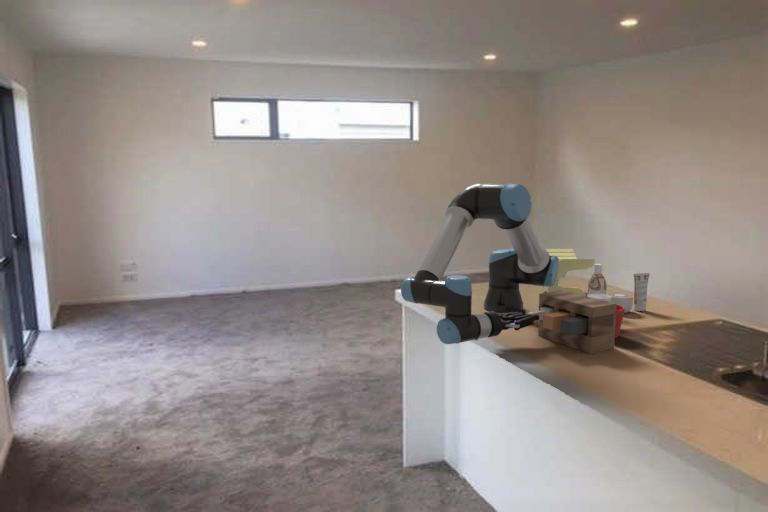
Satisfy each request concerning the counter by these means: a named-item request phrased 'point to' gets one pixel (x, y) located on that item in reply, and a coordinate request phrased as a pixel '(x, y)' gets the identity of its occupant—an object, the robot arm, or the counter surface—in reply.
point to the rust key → (554, 319)
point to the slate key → (574, 325)
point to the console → (578, 305)
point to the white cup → (600, 297)
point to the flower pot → (618, 319)
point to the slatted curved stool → (568, 268)
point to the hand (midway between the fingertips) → (543, 314)
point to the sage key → (547, 309)
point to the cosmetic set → (626, 300)
